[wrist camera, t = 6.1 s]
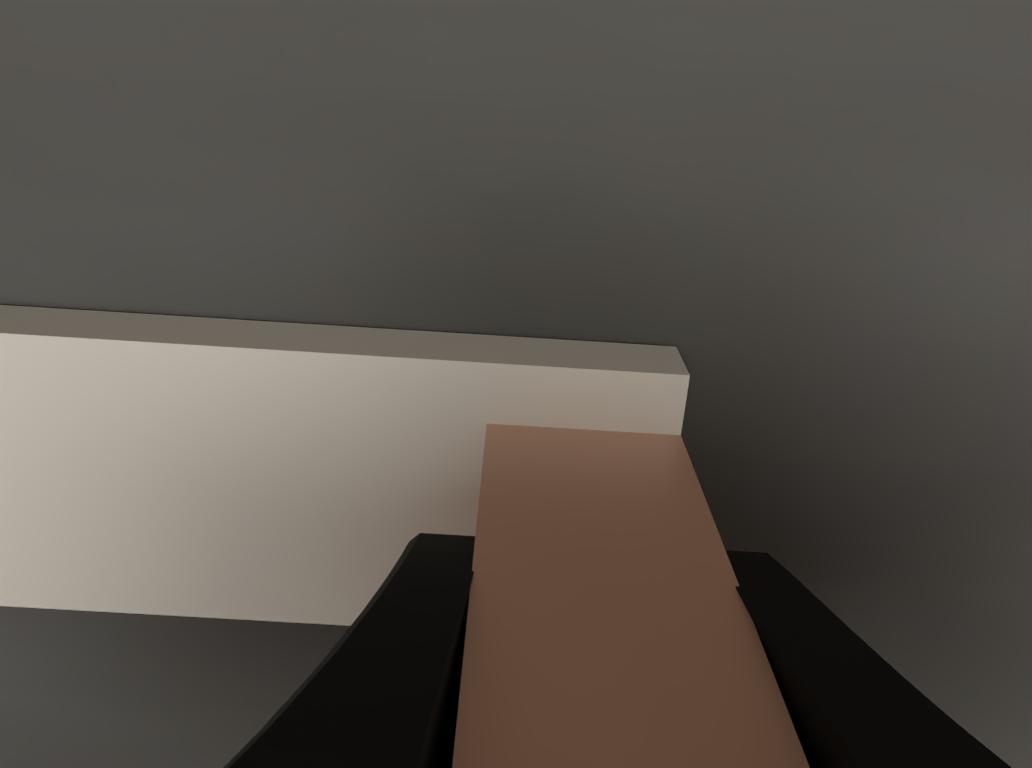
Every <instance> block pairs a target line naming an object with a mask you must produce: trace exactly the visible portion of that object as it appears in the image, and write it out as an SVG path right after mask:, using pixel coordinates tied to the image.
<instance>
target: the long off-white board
mask: <svg viewBox="0 0 1032 768" xmlns="http://www.w3.org/2000/svg"><path fill="white" fill-rule="evenodd" d="M689 379H690V374H689V372H688V370H687V368H686V366H685V364H684V362H683V360H682V358H681V356H680V354H679V352H678V349H677V347H676V346H660V345H643V344H627V343H611V342H595V341H579V340H562V339H546V338H530V337H514V336H497V335H481V334H465V333H449V332H433V331H416V330H400V329H384V328H368V327H351V326H335V325H319V324H303V323H287V322H270V321H254V320H238V319H222V318H206V317H189V316H173V315H157V314H141V313H124V312H108V311H92V310H76V309H60V308H43V307H27V306H11V305H0V606H11V607H28V608H46V609H64V610H81V611H99V612H117V613H134V614H152V615H170V616H187V617H205V618H222V619H240V620H258V621H275V622H293V623H311V624H328V625H346V626H351V625H352V624H353V622H354V621H355V620H356V619H357V617H358V616H359V615H360V614H361V612H362V611H363V610H364V608H365V607H366V606H367V604H368V603H369V601H370V600H371V599H372V597H373V596H374V595H375V593H376V592H377V590H378V589H379V588H380V586H381V585H382V583H383V582H384V581H385V579H386V578H387V576H388V575H389V573H390V572H391V570H392V569H393V567H394V566H395V564H396V562H397V561H398V559H399V558H400V556H401V555H402V553H403V551H404V549H405V548H406V546H407V544H408V542H409V541H410V540H412V539H413V538H414V537H415V536H417V535H418V534H419V533H430V534H448V535H465V536H475V545H474V555H473V565H472V571H474V574H473V579H472V583H471V587H470V594H469V604H468V614H467V624H466V634H465V644H464V654H463V664H462V674H461V684H460V694H459V704H458V714H457V724H456V734H455V744H454V754H453V764H452V768H810V767H809V764H808V762H807V759H806V756H805V754H804V751H803V749H802V746H801V744H800V741H799V738H798V736H797V733H796V731H795V728H794V726H793V723H792V720H791V718H790V715H789V713H788V710H787V708H786V705H785V702H784V700H783V697H782V695H781V692H780V689H779V687H778V684H777V682H776V679H775V677H774V674H773V671H772V669H771V666H770V664H769V661H768V659H767V656H766V653H765V651H764V648H763V646H762V643H761V641H760V638H759V635H758V633H757V630H756V628H755V625H754V623H753V620H752V618H751V617H750V615H749V613H748V611H747V609H746V607H745V605H744V603H743V601H742V599H741V597H740V595H739V594H738V592H737V590H736V587H735V586H739V584H738V581H737V579H736V576H735V574H734V571H733V568H732V566H731V563H730V561H729V558H728V556H727V553H726V550H725V548H724V545H723V543H722V540H721V537H720V535H719V532H718V530H717V527H716V525H715V522H714V519H713V517H712V514H711V512H710V509H709V507H708V504H707V501H706V499H705V496H704V494H703V491H702V489H701V486H700V483H699V481H698V478H697V476H696V473H695V471H694V468H693V465H692V463H691V460H690V458H689V455H688V452H687V450H686V447H685V445H684V442H683V440H682V437H681V431H682V424H683V418H684V411H685V405H686V398H687V392H688V385H689Z"/></svg>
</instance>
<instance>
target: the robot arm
mask: <svg viewBox="0 0 1032 768" xmlns="http://www.w3.org/2000/svg"><path fill="white" fill-rule="evenodd" d="M474 545H475V536H465V535H448V534H430V533H419V534H418V535H417V536H415V537H414V538H413V539H412V540H410V541H409V542H408V544H407V546H406V548H405V549H404V551H403V553H402V555H401V556H400V558H399V559H398V561H397V562H396V564H395V566H394V567H393V569H392V570H391V572H390V573H389V575H388V576H387V578H386V579H385V581H384V582H383V583H382V585H381V586H380V588H379V589H378V590H377V592H376V593H375V595H374V596H373V597H372V599H371V600H370V601H369V603H368V604H367V606H366V607H365V608H364V610H363V611H362V612H361V614H360V615H359V616H358V617H357V619H356V620H355V621H354V622H353V624H352V625H351V626H350V627H349V629H348V630H347V631H346V632H345V634H344V635H343V636H342V637H341V639H340V640H339V641H338V642H337V644H336V645H335V646H334V647H333V649H332V650H331V651H330V652H329V654H328V655H327V656H326V657H325V659H324V660H323V661H322V662H321V663H320V665H319V666H318V667H317V668H316V669H315V670H314V672H313V673H312V674H311V675H310V676H309V677H308V678H307V679H306V681H305V682H304V683H303V684H302V685H301V686H300V687H299V688H298V689H297V690H296V692H295V693H294V694H293V695H292V696H291V697H290V698H289V699H288V700H287V701H286V703H285V704H284V705H283V706H282V707H281V708H280V709H279V710H278V711H277V713H276V714H275V715H274V716H273V717H272V718H271V719H270V720H269V721H268V722H267V724H266V725H265V726H264V727H263V728H262V729H261V730H260V731H259V732H258V733H257V734H256V735H255V736H254V737H253V738H252V739H251V740H250V742H249V743H248V744H247V745H246V746H245V747H244V748H243V749H242V750H241V751H240V752H239V753H238V754H237V755H236V756H235V757H234V758H233V759H232V760H231V761H230V762H229V763H228V764H227V765H226V766H225V767H224V768H452V764H453V754H454V744H455V734H456V724H457V714H458V704H459V694H460V684H461V674H462V664H463V654H464V644H465V634H466V624H467V614H468V604H469V594H470V587H471V583H472V579H473V574H474V571H472V565H473V555H474ZM726 553H727V556H728V558H729V561H730V563H731V566H732V568H733V571H734V574H735V576H736V579H737V581H738V584H739V586H735V587H736V590H737V592H738V594H739V595H740V597H741V599H742V601H743V603H744V605H745V607H746V609H747V611H748V613H749V615H750V617H751V618H752V620H753V623H754V625H755V628H756V630H757V633H758V635H759V638H760V641H761V643H762V646H763V648H764V651H765V653H766V656H767V659H768V661H769V664H770V666H771V669H772V671H773V674H774V677H775V679H776V682H777V684H778V687H779V689H780V692H781V695H782V697H783V700H784V702H785V705H786V708H787V710H788V713H789V715H790V718H791V720H792V723H793V726H794V728H795V731H796V733H797V736H798V738H799V741H800V744H801V746H802V749H803V751H804V754H805V756H806V759H807V762H808V764H809V767H810V768H1011V767H1010V766H1009V765H1007V764H1006V763H1005V762H1004V761H1003V760H1001V759H1000V758H999V757H998V756H996V755H995V754H994V753H993V752H991V751H990V750H989V749H988V748H986V747H985V746H984V745H983V744H982V743H980V742H979V741H978V740H977V739H975V738H974V737H973V736H972V735H970V734H969V733H968V732H967V731H966V730H964V729H963V728H962V727H961V726H959V725H958V724H957V723H956V722H955V721H954V720H952V719H951V718H950V717H949V716H948V715H946V714H945V713H944V712H943V711H942V710H941V709H939V708H938V707H937V706H936V705H935V704H934V703H932V702H931V701H930V700H929V699H928V698H927V697H925V696H924V695H923V694H922V693H921V692H920V691H919V690H917V689H916V688H915V687H914V686H913V685H912V684H911V683H909V682H908V681H907V680H906V679H905V678H904V677H903V676H902V675H900V674H899V673H898V672H897V671H896V670H895V669H894V668H893V667H891V666H890V665H889V664H888V663H887V662H886V661H885V660H884V659H883V658H881V657H880V656H879V655H878V654H877V653H876V652H875V651H874V650H873V649H872V648H870V647H869V646H868V645H867V644H866V643H865V642H864V641H863V640H862V639H861V638H860V637H858V636H857V635H856V634H855V633H854V632H853V631H852V630H851V629H850V628H849V627H848V626H847V625H845V624H844V623H843V622H842V621H841V620H840V619H839V618H838V617H837V616H836V615H835V614H834V613H833V612H832V611H830V610H829V609H828V608H827V607H826V606H825V605H824V604H823V603H822V602H821V601H820V600H819V599H818V598H817V597H815V596H814V595H813V594H812V593H811V592H810V591H809V590H808V589H807V588H806V587H805V586H804V585H803V584H801V583H800V582H799V581H798V580H797V579H796V578H795V577H794V576H793V575H792V574H791V573H790V572H788V571H787V570H786V569H785V568H784V567H783V566H782V565H781V564H779V563H778V562H777V561H776V560H775V559H774V558H772V557H771V556H770V555H769V554H768V553H758V552H741V551H726Z"/></svg>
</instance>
